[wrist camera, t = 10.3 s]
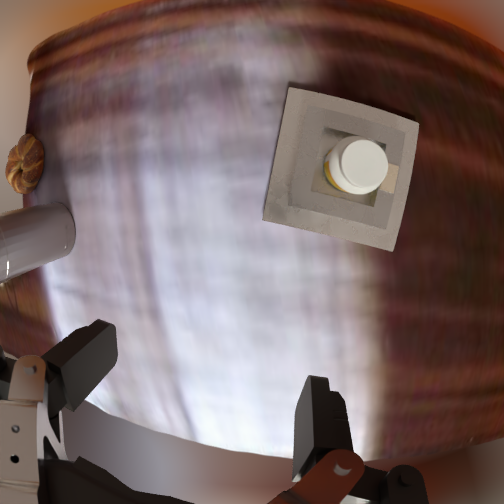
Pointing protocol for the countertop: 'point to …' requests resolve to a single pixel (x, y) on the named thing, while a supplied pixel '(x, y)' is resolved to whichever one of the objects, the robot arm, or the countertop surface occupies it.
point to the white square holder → (313, 177)
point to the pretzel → (25, 164)
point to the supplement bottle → (355, 165)
